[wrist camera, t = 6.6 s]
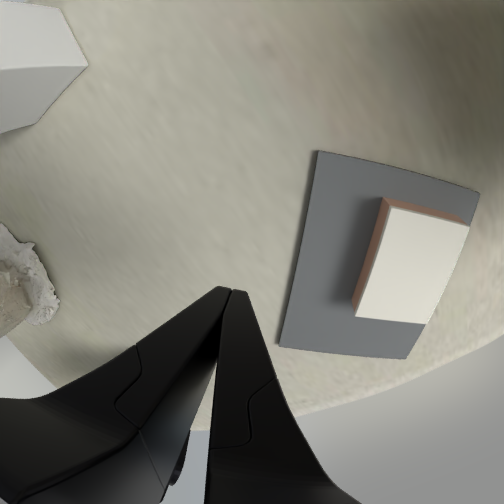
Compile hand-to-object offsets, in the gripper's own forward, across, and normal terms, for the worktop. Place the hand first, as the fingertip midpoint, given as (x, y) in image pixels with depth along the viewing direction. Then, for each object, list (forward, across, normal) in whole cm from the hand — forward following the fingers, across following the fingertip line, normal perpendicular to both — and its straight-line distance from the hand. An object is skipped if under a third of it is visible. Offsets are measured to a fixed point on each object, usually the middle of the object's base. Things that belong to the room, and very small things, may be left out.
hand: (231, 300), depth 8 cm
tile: (+10, -7, +3) cm, 13 cm away
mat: (+12, -9, +5) cm, 16 cm away
